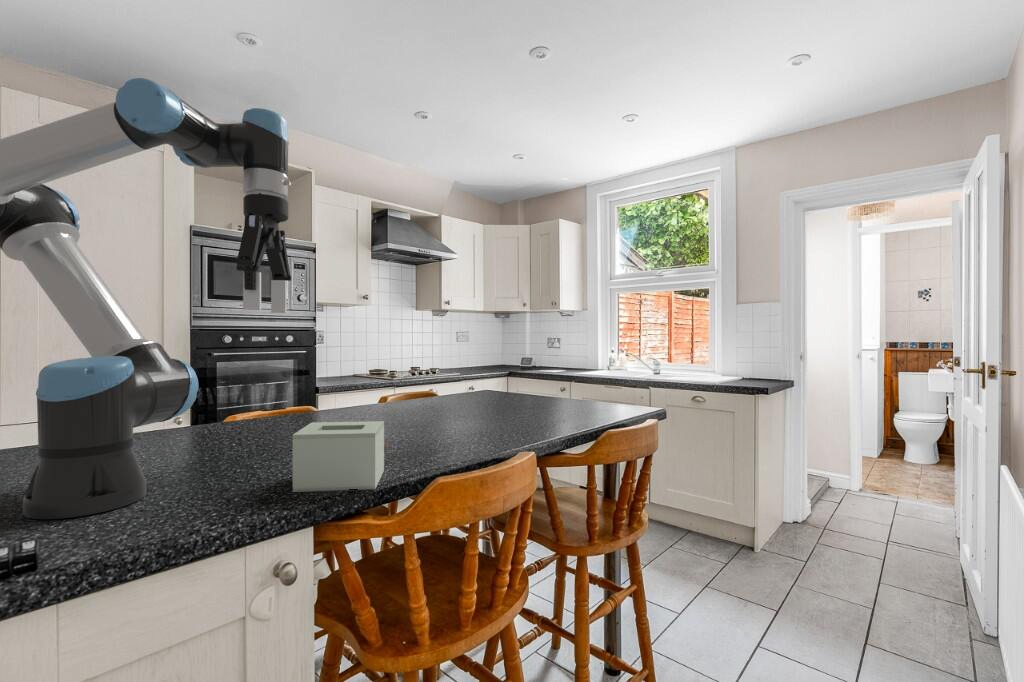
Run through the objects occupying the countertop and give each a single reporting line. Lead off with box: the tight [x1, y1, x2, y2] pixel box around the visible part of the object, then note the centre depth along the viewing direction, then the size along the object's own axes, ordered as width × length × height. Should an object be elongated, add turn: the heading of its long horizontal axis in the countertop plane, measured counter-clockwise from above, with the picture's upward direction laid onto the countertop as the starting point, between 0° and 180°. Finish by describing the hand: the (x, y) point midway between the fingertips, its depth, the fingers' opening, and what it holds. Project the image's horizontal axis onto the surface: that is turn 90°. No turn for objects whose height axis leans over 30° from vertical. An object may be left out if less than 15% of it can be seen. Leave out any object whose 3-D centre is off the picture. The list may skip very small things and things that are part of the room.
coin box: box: [292, 420, 385, 493], centre depth 93 cm, size 14×12×10 cm
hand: (266, 311), depth 92 cm, fingers open, 13 cm apart
